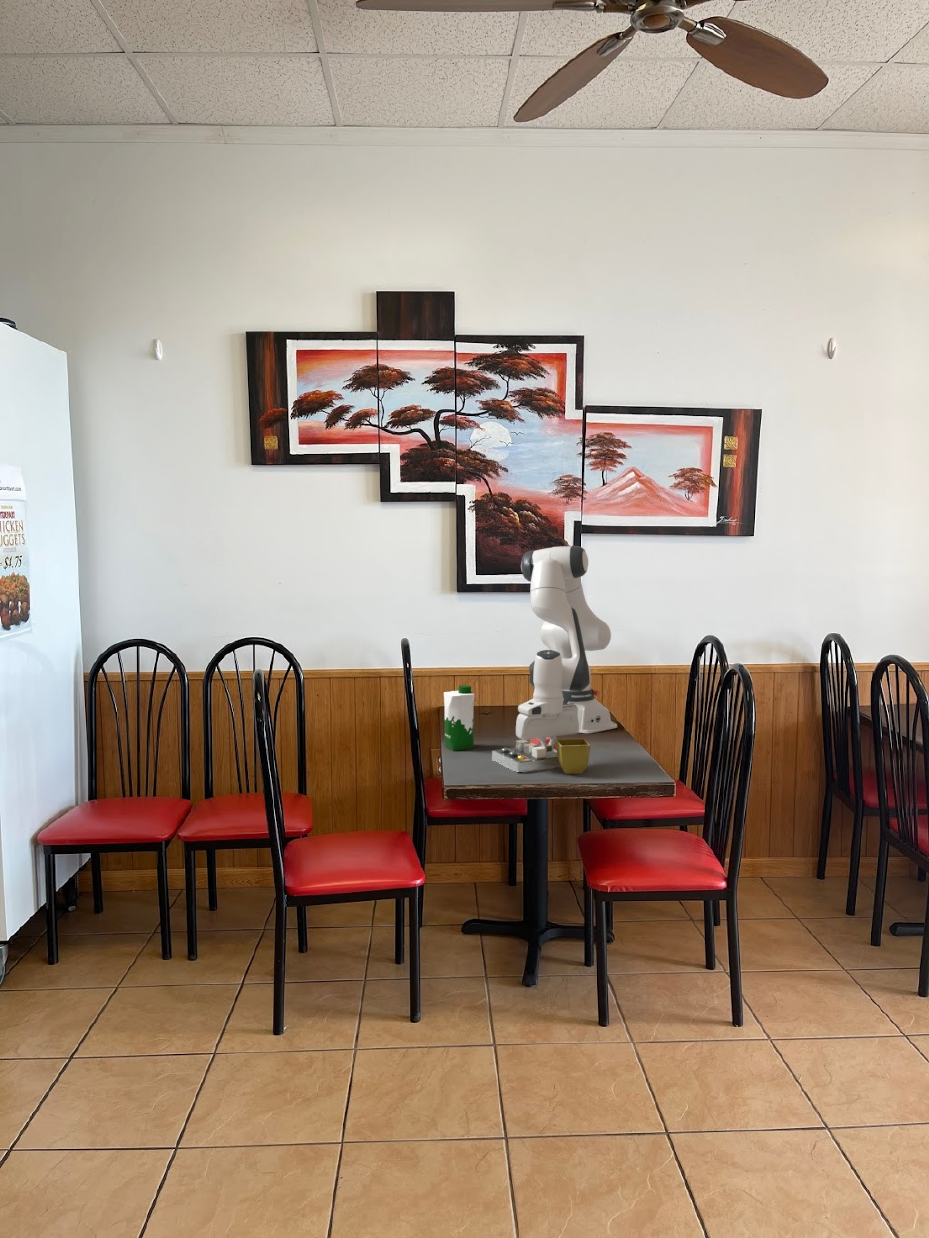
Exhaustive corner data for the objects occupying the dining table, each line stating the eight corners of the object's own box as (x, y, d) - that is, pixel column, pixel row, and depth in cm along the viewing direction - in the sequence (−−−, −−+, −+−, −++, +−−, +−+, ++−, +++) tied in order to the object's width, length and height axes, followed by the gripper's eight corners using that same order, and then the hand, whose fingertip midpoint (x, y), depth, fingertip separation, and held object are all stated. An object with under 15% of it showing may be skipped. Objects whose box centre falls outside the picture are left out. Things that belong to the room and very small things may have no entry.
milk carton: (477, 749, 293) (477, 687, 291) (451, 752, 290) (451, 690, 287) (466, 743, 301) (466, 683, 299) (441, 745, 298) (440, 685, 295)
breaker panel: (542, 753, 287) (542, 735, 287) (570, 765, 273) (570, 747, 272) (492, 760, 279) (492, 742, 279) (517, 773, 265) (517, 754, 264)
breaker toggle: (540, 754, 273) (540, 746, 273) (545, 756, 271) (545, 748, 270) (531, 755, 272) (531, 747, 272) (537, 758, 269) (537, 749, 269)
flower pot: (554, 768, 270) (555, 738, 269) (583, 767, 271) (584, 737, 270) (560, 776, 262) (560, 745, 261) (590, 775, 262) (590, 745, 261)
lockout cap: (545, 745, 297) (545, 734, 297) (555, 750, 292) (555, 738, 291) (529, 748, 294) (529, 736, 294) (539, 752, 289) (539, 740, 289)
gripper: (571, 700, 278) (571, 745, 280) (513, 706, 269) (513, 752, 271) (583, 704, 273) (582, 749, 274) (523, 710, 264) (523, 757, 265)
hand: (547, 751), depth 272 cm, fingers closed
